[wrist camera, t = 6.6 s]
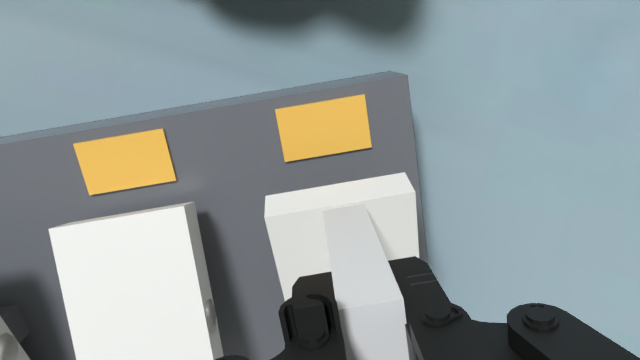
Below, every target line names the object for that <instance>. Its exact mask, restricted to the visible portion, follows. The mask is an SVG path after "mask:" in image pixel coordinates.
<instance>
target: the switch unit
mask: <svg viewBox="0 0 640 360" xmlns="http://www.w3.org/2000/svg"><path fill="white" fill-rule="evenodd" d="M403 172H405V173H406V175H407V177H408V179H409V181H410V183H411V185H412V186H413V188H414V190H415V193H416V210H417V227H418V244H419V259H421V260H423V261H425V262H426V263H427V264H428V260H427V251H426V241H425V232H424V223H423V214H422V204H421V195H420V186H419V176H418V167H417V158H416V148H415V139H414V130H413V120H412V111H411V102H410V92H409V83H408V75H405V74H401V73H397V72H392V71H387V72H381V73H376V74H370V75H364V76H358V77H352V78H346V79H340V80H334V81H329V82H323V83H317V84H311V85H305V86H299V87H293V88H287V89H281V90H276V91H270V92H264V93H258V94H252V95H246V96H240V97H234V98H229V99H223V100H217V101H211V102H205V103H199V104H193V105H187V106H182V107H176V108H170V109H164V110H158V111H152V112H146V113H140V114H135V115H129V116H123V117H117V118H111V119H105V120H99V121H93V122H88V123H82V124H76V125H70V126H64V127H58V128H52V129H46V130H40V131H35V132H29V133H23V134H17V135H11V136H5V137H0V316H1V318H2V319H3V321H4V322H5V324H6V325H7V326H8V328H9V329H10V331H11V332H12V334H13V335H14V337H15V338H16V339H17V341H18V342H19V344H20V345H21V347H22V348H23V350H24V351H25V352H26V354H27V355H28V357H29V358H30V360H76V356H75V351H74V346H73V342H72V337H71V332H70V328H69V323H68V318H67V314H66V309H65V304H64V300H63V295H62V290H61V286H60V281H59V276H58V272H57V267H56V262H55V258H54V253H53V248H52V244H51V239H50V234H49V230H48V229H50V228H53V227H57V226H60V225H63V224H66V223H70V222H76V221H82V220H88V219H94V218H99V217H105V216H111V215H117V214H123V213H129V212H135V211H141V210H146V209H152V208H158V207H164V206H170V205H176V204H182V203H188V202H194V203H195V208H196V213H197V218H198V224H199V229H200V234H201V239H202V245H203V250H204V255H205V260H206V266H207V271H208V276H209V281H210V287H211V292H212V297H213V302H214V308H215V313H216V318H217V323H218V329H219V334H220V339H221V345H222V350H223V355H224V356H230V355H239V356H245V357H246V358H248V359H249V360H270V359H272V358H274V357H275V356H277V355H278V354H280V353H281V352H282V351H283V350H284V349H285V342H284V337H283V333H282V328H281V323H280V319H279V314H278V311H279V309H280V306H281V305H282V304H283V303H284V302H285V299H284V295H283V291H282V287H281V283H280V279H279V275H278V271H277V267H276V263H275V259H274V255H273V251H272V247H271V243H270V239H269V235H268V231H267V227H266V223H265V219H264V213H265V196H267V195H273V194H279V193H285V192H291V191H297V190H303V189H309V188H315V187H320V186H326V185H332V184H338V183H344V182H350V181H356V180H362V179H368V178H373V177H379V176H385V175H391V174H397V173H403Z"/></svg>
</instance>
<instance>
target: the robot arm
mask: <svg viewBox="0 0 640 360" xmlns="http://www.w3.org/2000/svg"><path fill="white" fill-rule="evenodd" d="M323 216H324V223H325V230H326V237H327V244H328V251H329V259H330V266H331V272H325V273H319V274H314V275H308V276H302V277H299V278H298V279H297V281H296V282H295V283H294V285H293V286H292V297H291V298H289V299H288V300H286V301H285V302H284V303H283V304H282V305H281V306H280V309H279V311H278V314H279V319H280V323H281V328H282V333H283V337H284V342H285V349H284V350H283V351H282V352H281V353H280V354H278V355H277V356H275V357H274V358H272V359H270V360H640V358H638V357H637V356H635V355H634V354H632V353H631V352H629V351H627V350H626V349H624V348H623V347H621V346H620V345H618V344H616V343H615V342H613V341H612V340H610V339H609V338H607V337H605V336H604V335H602V334H601V333H599V332H598V331H596V330H594V329H593V328H591V327H590V326H588V325H587V324H585V323H583V322H582V321H580V320H579V319H577V318H576V317H574V316H572V315H571V314H569V313H568V312H566V311H564V310H562V309H560V308H558V307H555V306H551V305H546V304H541V303H537V304H535V303H530V304H524V305H519V306H517V307H515V308H513V309H512V310H510V312H509V313H508V315H507V323H488V322H479V321H475V320H471V318H470V317H469V315H468V314H467V312H466V311H465V310H464V309H462V308H461V307H459V306H457V305H455V304H452V303H451V302H450V301H449V299H448V297H447V296H446V294H445V292H444V291H443V289H442V287H441V286H440V284H439V282H438V281H437V279H436V277H435V276H434V274H433V273H432V271H431V269H430V267H429V266H428V264H427V263H426V262H425V261H423V260H421V259H419V258H418V257H416V256H413V257H407V258H401V259H395V260H389V261H388V260H387V258H386V255H385V253H384V251H383V248H382V246H381V243H380V241H379V239H378V236H377V234H376V231H375V229H374V227H373V224H372V222H371V219H370V217H369V215H368V212H367V210H366V207H365V205H364V204H359V205H353V206H347V207H341V208H335V209H329V210H323ZM215 360H249V359H248V358H246V357H245V356H239V355H230V356H223V357H220V358H217V359H215Z"/></svg>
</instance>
